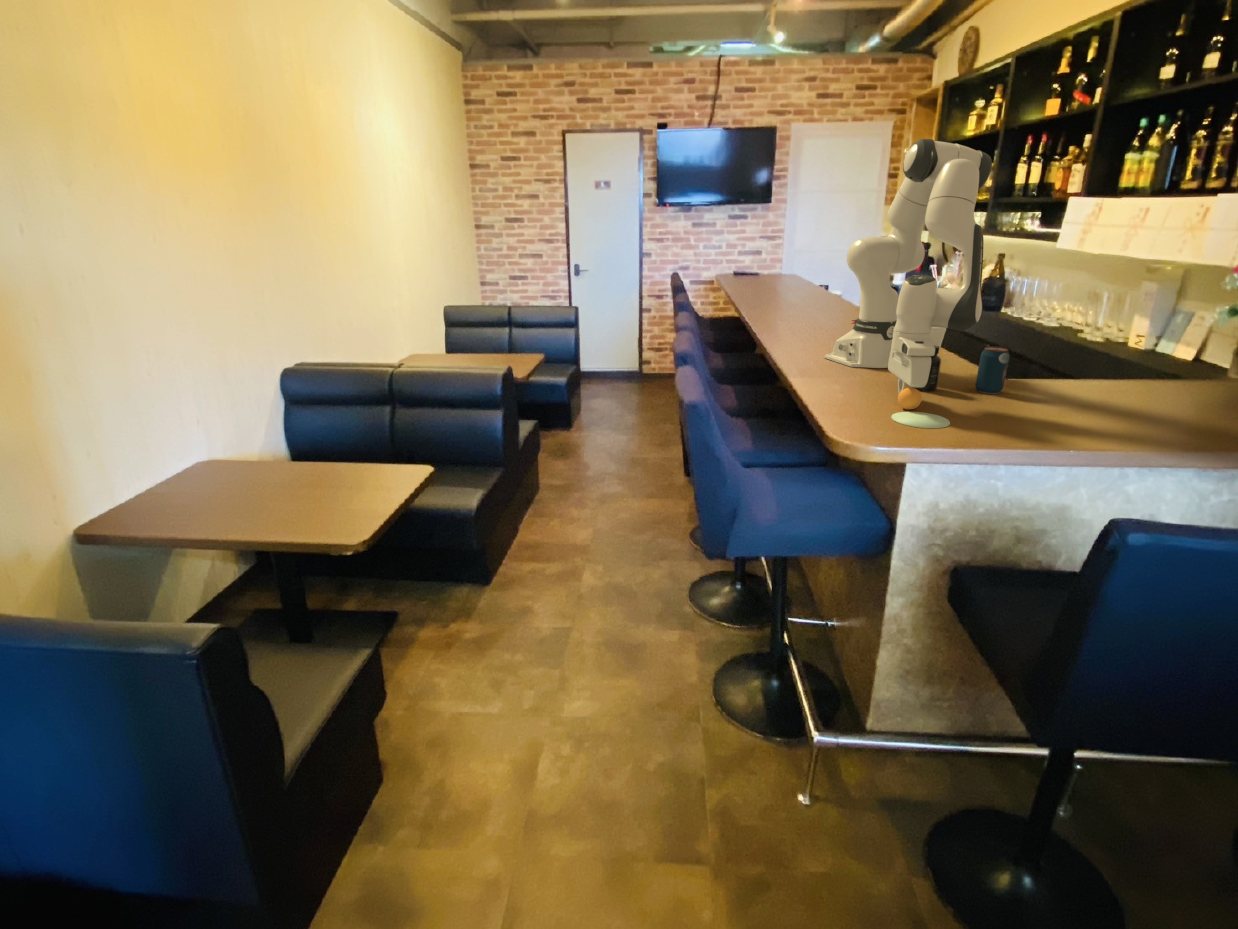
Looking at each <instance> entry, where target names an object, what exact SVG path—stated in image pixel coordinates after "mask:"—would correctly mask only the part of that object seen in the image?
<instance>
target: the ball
mask: <svg viewBox="0 0 1238 929" xmlns="http://www.w3.org/2000/svg"><path fill="white" fill-rule="evenodd" d="M897 401H898V402H897V403H898V404H899V406H900V407H901V408H902V409H904V410H909V411H911V410H914V409H916V408H918V407H919V406H920V405H921V404H922V401H923V397H922V394H921V391H918V390H917V389H915V388H912V387H911V388H906V389H904V390H902V391H901V392H900V394H898V396H897Z"/></svg>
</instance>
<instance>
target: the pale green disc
mask: <svg viewBox="0 0 1238 929" xmlns="http://www.w3.org/2000/svg"><path fill="white" fill-rule="evenodd" d="M890 418H891V420H892V421H894V422H896V423H898V424H901V425H904V426H907V427H913V428H920V429H942V428H943V429H944V428H946V427H949V426H950V424H951V421H950V420H949V419H948V418H945V416H944V417H943V416H941V415H937V414H934V413H928V412H922V411H900V412H899V411H898V412H895V413H893V414H891V416H890Z"/></svg>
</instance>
